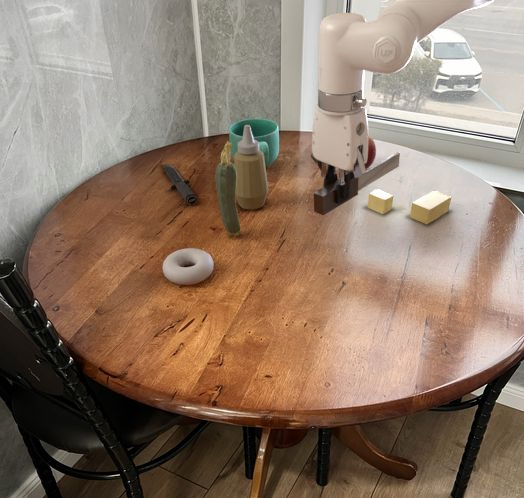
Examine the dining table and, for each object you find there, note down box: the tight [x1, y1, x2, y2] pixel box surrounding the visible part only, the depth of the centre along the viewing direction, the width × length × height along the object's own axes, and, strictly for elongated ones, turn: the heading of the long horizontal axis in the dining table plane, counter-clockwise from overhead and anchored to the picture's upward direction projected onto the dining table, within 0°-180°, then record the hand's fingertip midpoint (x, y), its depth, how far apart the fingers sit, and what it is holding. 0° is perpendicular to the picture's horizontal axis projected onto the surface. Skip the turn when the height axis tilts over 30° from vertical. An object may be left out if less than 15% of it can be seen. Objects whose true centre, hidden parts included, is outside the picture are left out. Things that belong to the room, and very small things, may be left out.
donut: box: [161, 247, 215, 286], centre depth 105 cm, size 10×4×10 cm
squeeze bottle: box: [233, 125, 269, 211], centre depth 119 cm, size 8×8×18 cm
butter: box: [409, 190, 452, 225], centre depth 118 cm, size 4×8×4 cm, turn 132°
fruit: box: [354, 135, 377, 170], centre depth 135 cm, size 10×9×8 cm
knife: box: [163, 165, 198, 206], centre depth 134 cm, size 24×5×3 cm, turn 17°
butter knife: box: [313, 151, 401, 216], centre depth 107 cm, size 2×24×4 cm, turn 132°
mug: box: [228, 118, 280, 167], centre depth 137 cm, size 17×13×10 cm
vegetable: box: [214, 140, 242, 237], centre depth 109 cm, size 4×4×20 cm
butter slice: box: [367, 188, 394, 215], centre depth 120 cm, size 4×3×4 cm, turn 42°
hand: (336, 198), depth 104 cm, fingers closed on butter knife, 2 cm apart
